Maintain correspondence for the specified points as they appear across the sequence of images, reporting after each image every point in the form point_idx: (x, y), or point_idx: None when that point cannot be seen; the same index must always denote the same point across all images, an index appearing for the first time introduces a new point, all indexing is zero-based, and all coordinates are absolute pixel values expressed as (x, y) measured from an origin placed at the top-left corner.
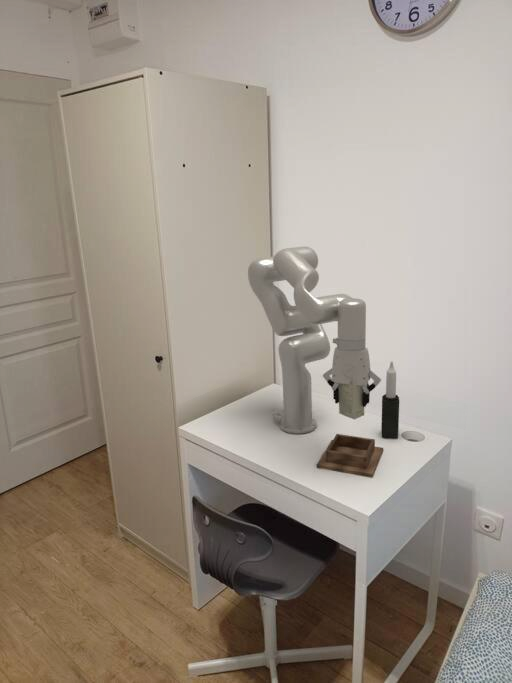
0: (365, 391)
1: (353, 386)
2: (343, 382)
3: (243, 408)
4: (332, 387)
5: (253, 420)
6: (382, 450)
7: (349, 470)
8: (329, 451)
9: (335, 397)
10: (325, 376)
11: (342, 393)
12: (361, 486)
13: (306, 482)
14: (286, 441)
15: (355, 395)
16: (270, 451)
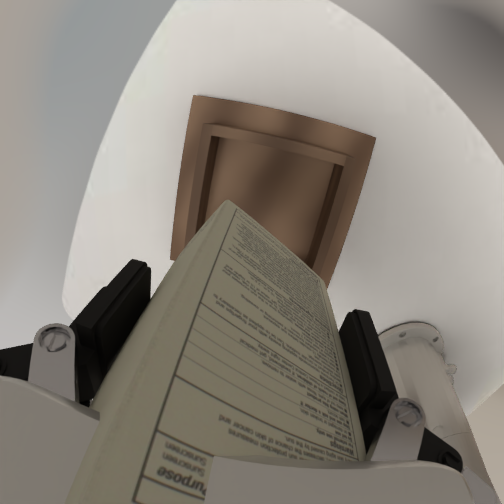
0: (68, 349)
1: (132, 397)
2: (330, 489)
3: (476, 394)
4: (421, 419)
5: (477, 360)
6: (171, 245)
7: (267, 108)
8: (344, 157)
9: (377, 341)
10: (479, 497)
11: (321, 371)
12: (229, 44)
13: (393, 56)
14: (441, 284)
15: (163, 302)
16: (480, 228)
